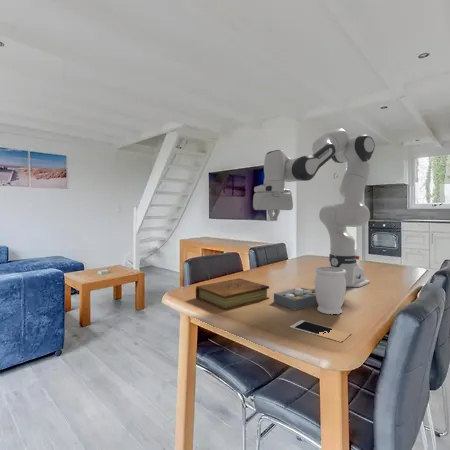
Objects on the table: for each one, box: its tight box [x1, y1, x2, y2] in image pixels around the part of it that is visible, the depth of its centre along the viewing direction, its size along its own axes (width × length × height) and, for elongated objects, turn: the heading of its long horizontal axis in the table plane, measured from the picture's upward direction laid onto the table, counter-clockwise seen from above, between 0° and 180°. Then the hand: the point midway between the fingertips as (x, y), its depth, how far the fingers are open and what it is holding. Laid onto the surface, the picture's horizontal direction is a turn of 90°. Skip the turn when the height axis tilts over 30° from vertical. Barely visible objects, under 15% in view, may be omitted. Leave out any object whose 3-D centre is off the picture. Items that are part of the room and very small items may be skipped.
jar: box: [314, 266, 347, 316], centre depth 108 cm, size 11×10×15 cm
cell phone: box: [289, 319, 332, 335], centre depth 90 cm, size 8×16×1 cm, turn 48°
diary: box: [195, 278, 270, 311], centre depth 123 cm, size 23×19×6 cm
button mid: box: [294, 288, 303, 296], centre depth 117 cm, size 3×3×3 cm
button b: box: [304, 289, 313, 294], centre depth 120 cm, size 3×3×3 cm
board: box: [273, 287, 319, 311], centre depth 117 cm, size 16×11×4 cm
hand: (273, 220), depth 131 cm, fingers closed
